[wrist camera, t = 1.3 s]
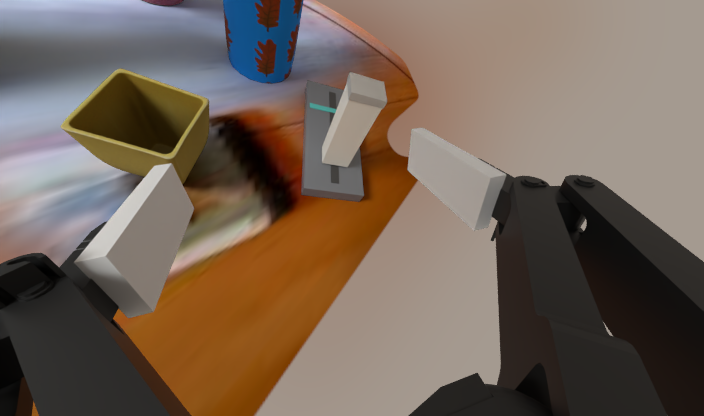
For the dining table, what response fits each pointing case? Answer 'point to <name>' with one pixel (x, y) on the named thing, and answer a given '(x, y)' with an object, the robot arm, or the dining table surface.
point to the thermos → (262, 37)
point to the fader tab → (353, 118)
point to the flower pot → (141, 124)
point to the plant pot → (164, 2)
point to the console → (316, 125)
